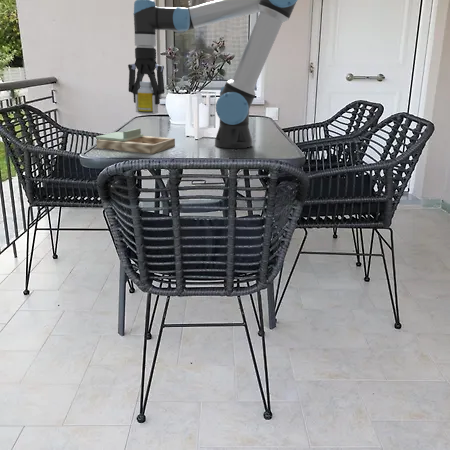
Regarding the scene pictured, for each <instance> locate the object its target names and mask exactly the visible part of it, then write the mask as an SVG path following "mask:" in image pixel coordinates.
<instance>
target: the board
mask: <svg viewBox="0 0 450 450" xmlns="http://www.w3.org/2000/svg"><path fill="white" fill-rule="evenodd" d="M95 141H96V148H97V149H103V148H106V149H105V150H112V149H114V151H121V152H130V153H131V152H133V153H142V154H150V155H151V154H152V155H153V154H156V153H159V152H162V151H165V150H168V149H171V148H174V147H175V146H176V138H173V137H172V138H171V137H164V136H163V137H160V136H151V135H149V136H148V135H143V137H139V138H135V139H132V140H128V141H115V140H105V139H96V140H95Z"/></svg>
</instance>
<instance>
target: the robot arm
mask: <svg viewBox="0 0 450 450" xmlns="http://www.w3.org/2000/svg"><path fill="white" fill-rule="evenodd" d="M297 2H298V0H213V1H209V2H205V3H201V4H198V5H194V6H190V7H183V6H182V7H181V6H176V7H173V6H157V5H156V1H154V0H135V1H134V3H133V22H134V23H133V24H134V28H133V29H134V46H135V48H134V58H135V62H134V63H130V64H128V65H127V66H128V67H127V68H128V71H129V73H128V92H129V93H131V94H132V95H133V103H134V104H135V113H138V89H140V88H141V86H140V82H141V81H143V79H144V76H145V75H147V76H148V78H149V82H151V85H152V88H153V92H154V94H153V96H152V103H153V114H152V115H156V114H158V113H159V105H160V104H161V103H160V101H161V97H160V96H161V95H163V94H165V81H164V69H165V66H164V65H161V64H158V62H157V61H156V60H157V49H156V48H155V47H156V46H157V39H156V38H157V37H156V36H157V34H156V32H157V31H172V32H175V33H178V34H181V33H182V34H183V33H186V32H187V31H190V30H195V29H198V28H202V27H205V26H209V25H210V26H211V25H213V24H217V23H221V22H225V21H229V20H234V19H237V18H241V17H242V18H243V17H245V16H248V15H250V16H251V15H253V14H257V13H259V14H258V17H257V18H256V20H255V23H254V26H253V28H252V31H251V33H250V35H249V38H248V40H247V42H246V44H245V47H244V49H243V52H242V55H241V57H240V59H239V61H238V64H237V66H236V69H235V70H234V73H233V76H232V78H231V79H228V80H227V81H226V82H225V84H224V86H222V87H221V88H220V92H219V98H217V101H216V103H215V110H216V111H215V113H216V115H217V117H218V119H219V127H218V130H217V133H216V136H215V139H214V146H215V147H218V148H223V149H247V147H249V148H251V147H250V146H252V147H253V139H252V135H251V132H250V128H249V124H250V123H249V122H250V109H251V106H252V104H253V101H254V100H255V97H256V95H257V94H256V90H255V87H256V84H257V82H258V81H259V80H258V79H259V78H260V75H261V73H262V71H263V68H264V67H265V63H266V62H267V59H268V57H269V54H270V53H271V50H272V48H273V46H274V43H275V41H276V38H277V36H278V34H279V31H280V30H281V28H282V24H284V23H285V22H287V21H289V19H290V17H291V15H292V12H293V10H294V8H295V6H296V5H297ZM136 69H137V70H136ZM155 70H156V73H155ZM136 71H137V72H136Z"/></svg>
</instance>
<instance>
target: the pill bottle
mask: <svg viewBox="0 0 450 450" xmlns="http://www.w3.org/2000/svg"><path fill="white" fill-rule="evenodd" d="M140 86H141V87H140V89H138V112H137V113H138V114H140V115H145V116H147V115H148V116H149V115H154V114H153V103H152V96H153V94H154V92H153V88H152V85H151V82H150V81H145V80H144V81H143V80H142V81H141V82H140Z"/></svg>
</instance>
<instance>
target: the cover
mask: <svg viewBox="0 0 450 450" xmlns="http://www.w3.org/2000/svg"><path fill="white" fill-rule="evenodd" d="M143 136H144V133H142V130H141V128H138V127H137V128H131V129H129V130H124V131H123V132H121V131H114V132H110V133H105V134H101V135H97V136H95V139H96V140H98V139H105V140H115V141H128V140H132V139H135V138H139V137H143Z"/></svg>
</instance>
